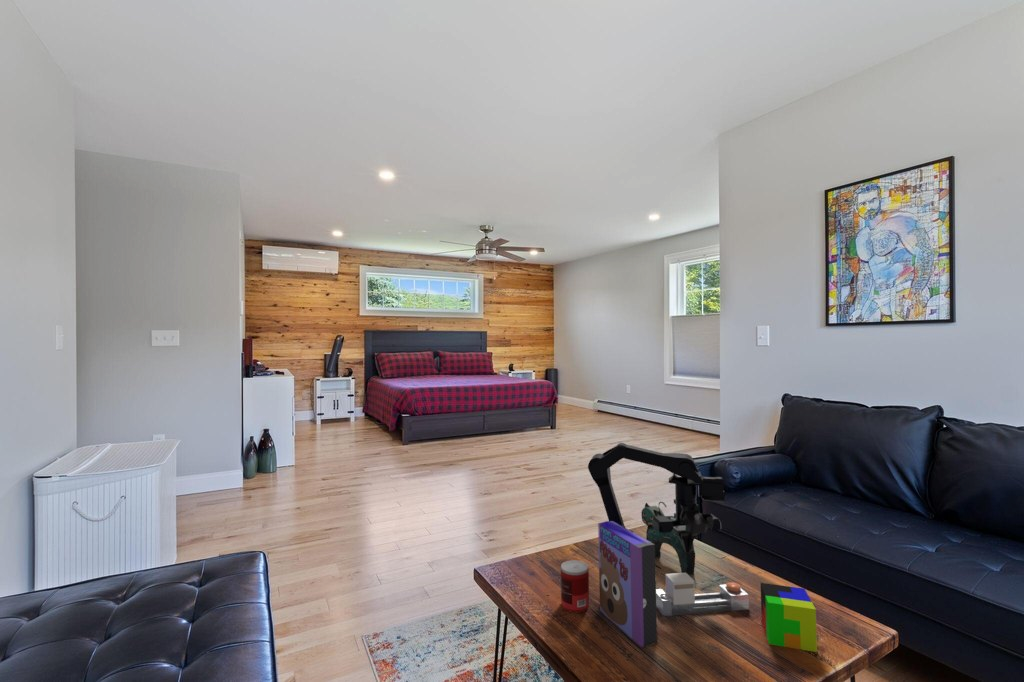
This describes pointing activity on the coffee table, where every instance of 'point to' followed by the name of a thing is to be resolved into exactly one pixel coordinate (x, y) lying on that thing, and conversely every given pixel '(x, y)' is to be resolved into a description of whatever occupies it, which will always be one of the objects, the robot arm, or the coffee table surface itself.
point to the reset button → (733, 587)
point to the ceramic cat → (667, 539)
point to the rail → (704, 602)
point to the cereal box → (628, 582)
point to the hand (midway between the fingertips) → (686, 552)
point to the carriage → (680, 588)
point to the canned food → (575, 586)
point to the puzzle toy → (788, 617)
